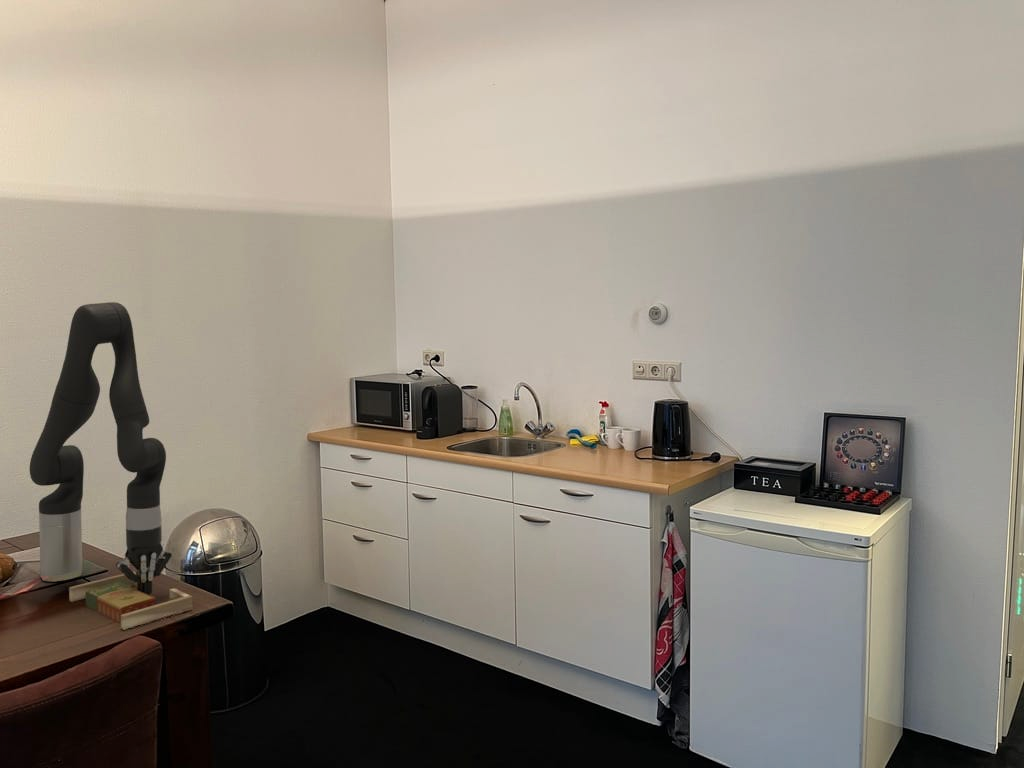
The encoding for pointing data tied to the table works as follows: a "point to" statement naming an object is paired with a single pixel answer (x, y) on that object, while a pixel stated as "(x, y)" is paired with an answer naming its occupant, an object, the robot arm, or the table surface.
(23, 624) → the table surface
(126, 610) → the carton
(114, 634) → the table surface
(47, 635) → the table surface
